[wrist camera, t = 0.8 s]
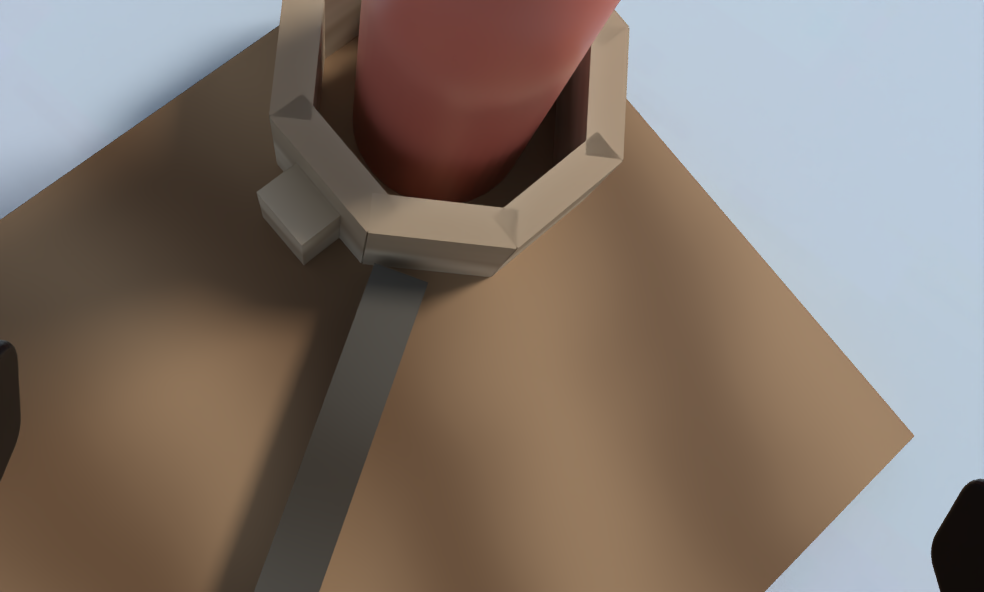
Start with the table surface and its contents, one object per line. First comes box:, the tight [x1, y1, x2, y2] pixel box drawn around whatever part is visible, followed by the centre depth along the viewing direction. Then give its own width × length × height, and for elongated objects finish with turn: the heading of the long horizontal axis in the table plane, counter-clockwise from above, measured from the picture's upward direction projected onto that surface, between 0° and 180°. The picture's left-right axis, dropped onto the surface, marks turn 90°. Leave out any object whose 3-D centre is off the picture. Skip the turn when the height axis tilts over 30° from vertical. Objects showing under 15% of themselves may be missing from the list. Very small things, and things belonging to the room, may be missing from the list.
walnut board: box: [0, 0, 914, 592], centre depth 19 cm, size 20×17×4 cm
